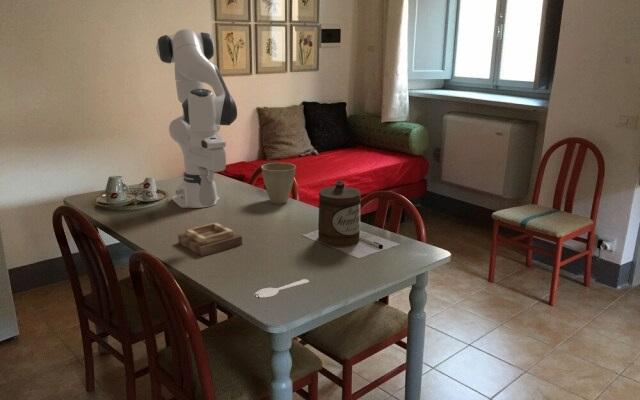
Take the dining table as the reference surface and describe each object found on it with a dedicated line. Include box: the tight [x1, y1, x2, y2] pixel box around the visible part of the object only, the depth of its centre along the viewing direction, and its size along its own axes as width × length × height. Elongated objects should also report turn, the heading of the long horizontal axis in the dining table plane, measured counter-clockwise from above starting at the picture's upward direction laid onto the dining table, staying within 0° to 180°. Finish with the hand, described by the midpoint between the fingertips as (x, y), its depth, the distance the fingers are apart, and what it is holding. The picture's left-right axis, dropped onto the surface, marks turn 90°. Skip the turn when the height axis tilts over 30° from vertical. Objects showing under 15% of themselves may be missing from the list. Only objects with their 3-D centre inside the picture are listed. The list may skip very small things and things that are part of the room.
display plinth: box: [177, 221, 243, 257], centre depth 184 cm, size 16×16×5 cm
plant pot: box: [261, 162, 296, 205], centre depth 231 cm, size 15×15×16 cm
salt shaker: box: [199, 167, 216, 207], centre depth 179 cm, size 6×6×13 cm
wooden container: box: [317, 180, 361, 248], centre depth 186 cm, size 15×15×22 cm
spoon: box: [254, 278, 310, 299], centre depth 153 cm, size 5×18×1 cm, turn 125°
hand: (206, 179), depth 178 cm, fingers closed on salt shaker, 3 cm apart
